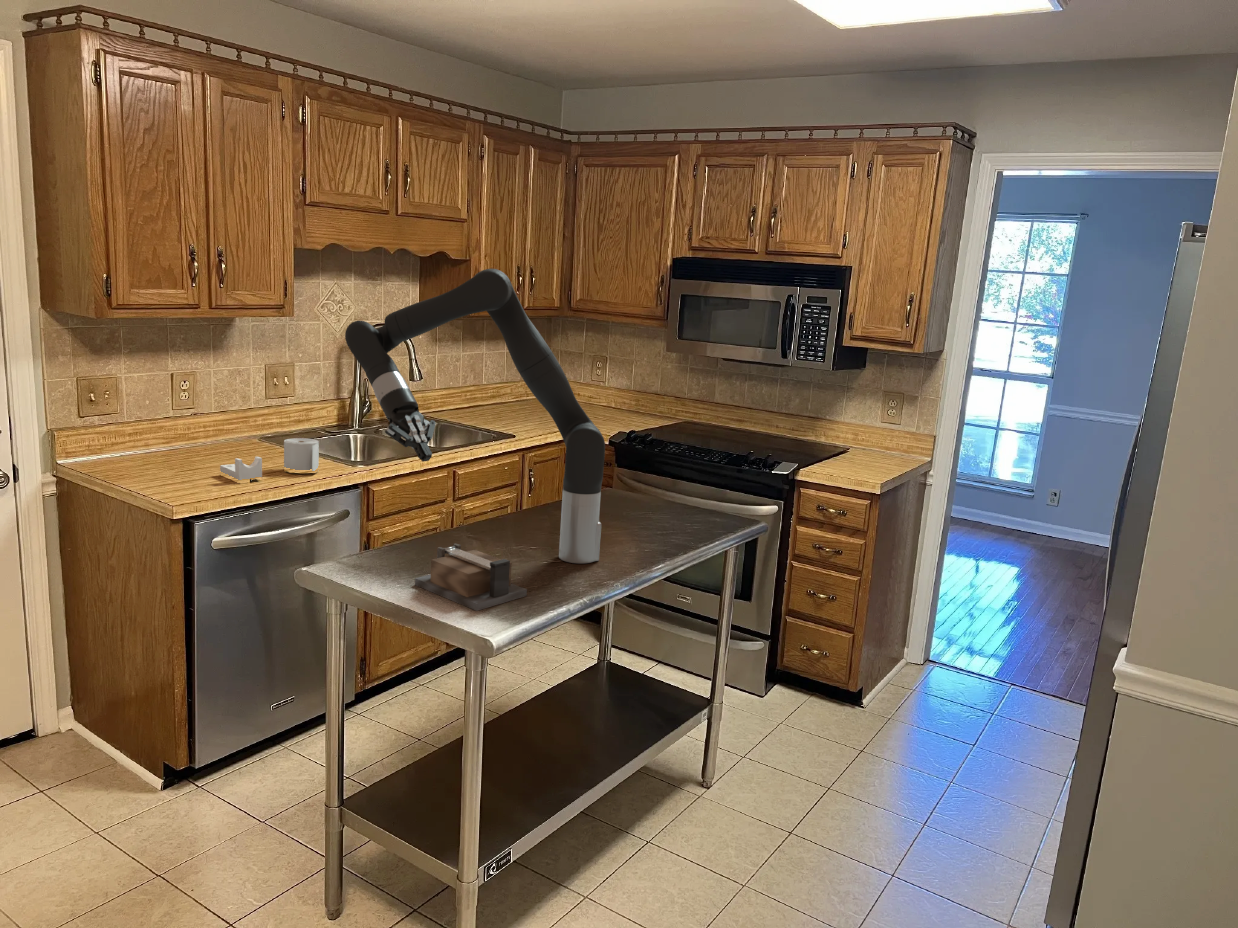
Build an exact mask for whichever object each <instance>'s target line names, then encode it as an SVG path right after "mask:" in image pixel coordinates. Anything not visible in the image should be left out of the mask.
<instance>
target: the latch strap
mask: <svg viewBox="0 0 1238 928" xmlns="http://www.w3.org/2000/svg"><path fill="white" fill-rule="evenodd" d="M444 548H445V554H446V555H448V556H449V555H452V556H454V557H457V558H459V559H462V560H464V561H467V562H470V563H472V564H475V565H477V566H480V567H482V568H485V569H488V570H491V566H490V562H492V561H489V560H487V559H484V558H481V557H479V556H476V555H473V554H471V553H468V552H467V551H465V550H462V549H461V550H460V549H458V548H456V547H455V546H453V545H452V546H448V547H444Z"/></svg>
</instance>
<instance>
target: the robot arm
mask: <svg viewBox="0 0 1238 928" xmlns="http://www.w3.org/2000/svg"><path fill="white" fill-rule="evenodd" d="M482 312H487V313H488V315H489V317H490V318H491V319H492V321H493V322H494V324H495V325H496V327H497V328H498V330H499V331H500V333H501V335H502V337H503V340H504V343H505V345H506V347H507V350H508V353H509V355H510V357H511V360H512V362H513V365H514V366H515V369H516V370H517V372H518V373H519V375H520V377H521V378H522V380H523V382H524V383H525V385H526V386H527V388H528V390H529V391H530V392H531V393H532V395H533V396H534V397H535V399H536V400H537V401H538V402H539V403H540V404H541V405H542V407H543V408H544V409H545V410H546V411H547V413H548V414H549V416H550V417H551V418H552V420H553V422H554V423H555V426H556V427H557V429H558V432H559V434H560V436H561V438H562V439H563V442H564V445H565V457H564V458H565V460H564V462H565V463H564V475H563V479H562V480H563V482H562V494H561V495H562V496H561V497H562V499H561V500H562V501H561V517H560V531H559V534H560V535H559V544H558V545H559V546H558V558H559V559H560V560H561V561H564V562H566V563H570V564H571V563H572V564H590V563H593V562H598V561H599V560H600V550H601V549H600V547H601V536H602V534H601V533H602V523H601V521H600V508H601V496H602V492H601V491H602V485H603V480H604V470H605V469H604V468H605V459H606V458H605V457H606V456H605V455H606V442H605V438H604V436H603V433H602V431H600V429H599V428H598V427H597V426H596V425H595V424H594V422H593V420H591V419H590V417H589V416H588V415H587V412H585V410H584V409H583V407H582V406H581V405H580V403H579V401H578V400H577V398H576V396H575V394H574V391H573V389H572V387H571V384H570V382H569V380H568V378H567V376H566V374H565V372H564V370H563V368H562V366H561V365H560V363H559V360H558V359H557V357H556V356H555V355H554V352H553V351H552V349H551V348H550V346H549V345H548V344H547V342H546V341H545V339H544V337H543V336H542V334H541V333H540V331H539V330H538V329H537V328H536V326H535V324H534V323H533V322H532V321H531V319H530V318H529V317H528V315H527V313H526V311H525V309H524V307H523V305H522V304H521V302H520V300H519V297H518V295H517V293H516V291H515V289H514V286H513V283H512V281H511V280H510V278H509V277H508V275H507V274H506V273H505V272H503V271H502V270H499V269H497V268H486V269H482V270H479V272H477V273H476V274H475V275H474V276H472V277H471V278H470V279H468V280H466V281H465V282H463V283H462V284H460V285H458V286H457V287H455V288H453V289H451V290H448V291H447V292H444V293H443V294H440V295H437V296H434V297H430V298H428V299H424V300H421V301H418V302H416V303H412V304H409V305H407V306H404V307H402V308H400V309H397V310H396V311H393V312H391V313H389V314H386V316H385V318H384V325H382V326H380V327H378V328H375V327H374V326H373V325H372V324H371V323H369V322H368V321H364V320H354V321H352V322H351V323H349V325H348V326H347V328H345V334H344V339H345V343H346V345H347V347H348V349H349V350H350V352H351V353H352V355H353V357H354V358H355V360H356V361H357V362H358V363H359V365H360V366H361V368H362V369H363V371H364V373H365V375H366V378H367V380H368V382H369V384H370V386H371V388H372V389H373V393H374V396H375V398H376V400H377V402H378V404H379V405H380V407H381V409H382V412H383V414H384V416H385V418H386V419H387V421H388V422H389V425H388V426H387V427H386V429H384V433H385V434H386V435H387V436H389V437H390V438H392V439H393V440H395V441H396V442H397V443H399V444H400V445H402V447H405V448H408V447H411V449H413V450H414V452H415V453H416V456H417V457H418V459H419V460H421V462H428V461H430V459H432V457H433V456H432V455H433V452H432V451H431V449H430V447H429V445H428V444H429V443H430V441H432V439H433V436H434V431H435V427H436V421H435V420H433V419H432V420H430V421H429V420H427V419H425V416H424V415H423V414H422V413H421V412H420V411H419V410H420V409H419V404H418V402H417V399H416V398H415V396H414V394H413V393H412V390H411V389H410V386H409V385H408V382H407V381H406V380H405V378H404V377H403V375H402V374H401V372H400V370H399V368H398V366H397V365H396V363H395V361H394V360H393V358H392V357H391V356H390V355H389V354H388V353H390V352H391V351H392V350H394V349H395V348H396V347H398V346H399V345H400V344H402V343H403V342H405V341H409V340H411V339H413V338H416V337H418V336H421V335H423V334H426V333H428V332H430V331H431V330H434V329H437V328H439V327H441V326H443V325H444V324H447V323H449V322H451V321H453V320H457V319H460V318H462V317H466V316H469V315H472V314H473V315H474V314H477V313H482Z"/></svg>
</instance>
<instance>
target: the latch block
mask: <svg viewBox="0 0 1238 928" xmlns="http://www.w3.org/2000/svg"><path fill="white" fill-rule="evenodd" d="M452 546H455V547H456V548H458V549H460V550H462V549H461V548H462V545H461V544H459V543H453V544H452ZM445 548H446V547H442V546H439V547H437V549H436V557H435V558H434V559H433V558H432V559H431V560H430V574H427V575H423V576H419V577H415V578H414V585H415V586H416V587H419V588H422V589H424V590H426V591H428V592H431V593H434V594H435V595H438V596H440V597H443V598H445V599H448V600H450V601H452V602H455V603H457V604H459V605H462V606H464V607H465V608H468V609H471V610H473V611H476V612H477V611H481V610H484V609H487V608H491V607H494V606H497V605H501V604H504V603H507V602H512V601H514V600H517V599H521V598H525V597H527V593H528V592H527V591H528V589H527V588H524V587H522V586H519V585H516V584H514V583H512V581H511V580H512V579H511V578H512V565H513V564H512V563H513V562H511V560H509V559H506V558H499V557H496V556H493V555H490V554H488V553H486V552H482V551H479V550H476V549H472V550H467V551H466V552H468V553H471V554H473V555H476V556H479V557H481V558H484V559H487V560H489V561H492V562H490V566H491V570H488V569H485V568H482V567H480V566H477V565H475V564H472V563H470V562H467V561H464V560H462V559H459V558H457V557H454V556H452V555H449V554H448V555H445V554H446V553H445Z"/></svg>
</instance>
